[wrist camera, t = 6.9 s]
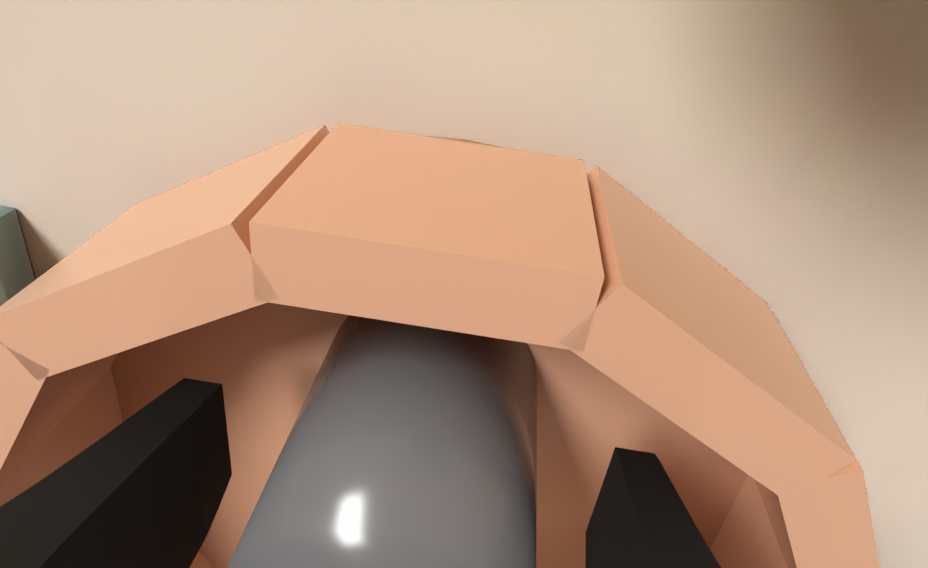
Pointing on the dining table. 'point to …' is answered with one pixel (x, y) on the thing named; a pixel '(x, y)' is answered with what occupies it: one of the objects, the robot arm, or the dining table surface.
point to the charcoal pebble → (405, 457)
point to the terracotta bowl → (447, 308)
